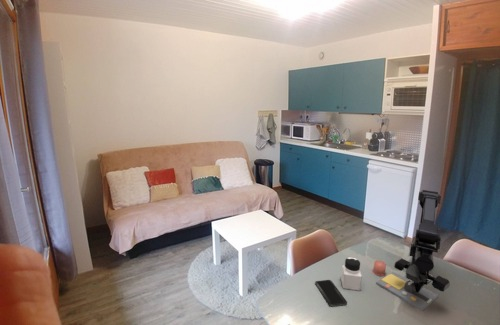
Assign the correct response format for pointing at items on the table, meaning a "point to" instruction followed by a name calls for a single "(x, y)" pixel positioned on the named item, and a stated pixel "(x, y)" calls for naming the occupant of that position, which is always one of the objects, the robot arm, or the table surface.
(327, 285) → the phone
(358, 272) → the medicine bottle
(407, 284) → the breaker
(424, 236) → the robot arm
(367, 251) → the table surface
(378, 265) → the cap
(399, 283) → the panel
